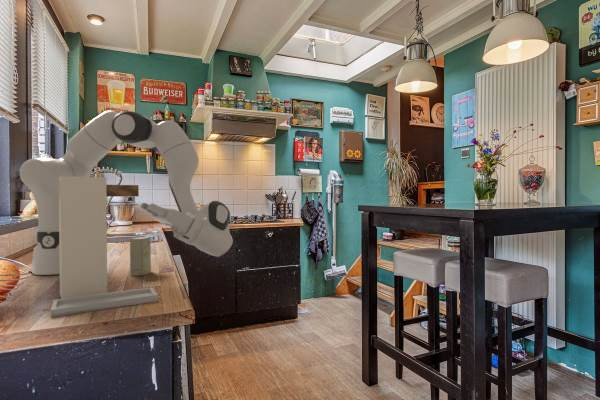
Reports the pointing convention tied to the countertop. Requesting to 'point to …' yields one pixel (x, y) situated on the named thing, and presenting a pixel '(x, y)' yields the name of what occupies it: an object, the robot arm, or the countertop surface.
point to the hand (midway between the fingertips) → (145, 205)
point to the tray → (102, 301)
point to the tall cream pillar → (82, 236)
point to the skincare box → (140, 256)
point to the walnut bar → (122, 190)
